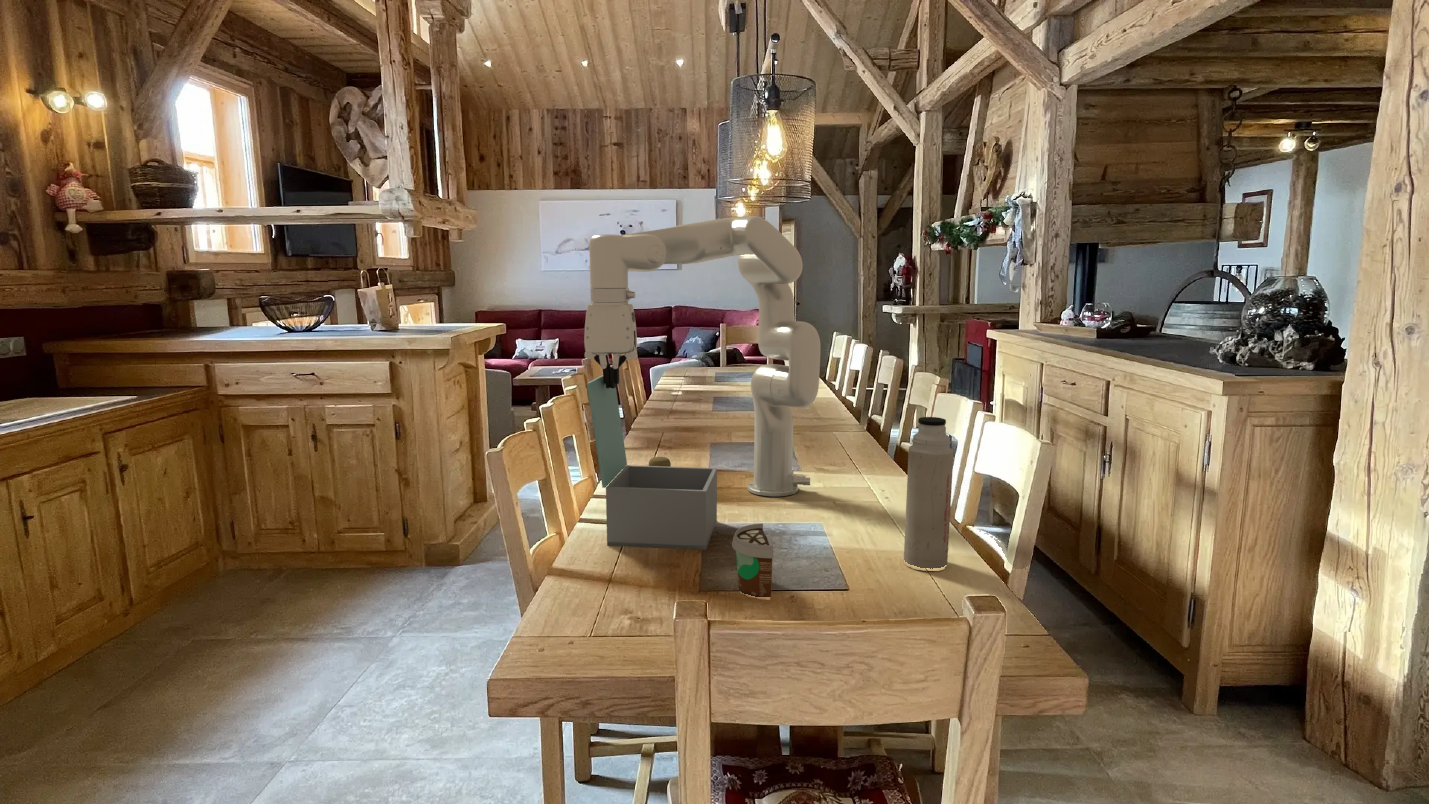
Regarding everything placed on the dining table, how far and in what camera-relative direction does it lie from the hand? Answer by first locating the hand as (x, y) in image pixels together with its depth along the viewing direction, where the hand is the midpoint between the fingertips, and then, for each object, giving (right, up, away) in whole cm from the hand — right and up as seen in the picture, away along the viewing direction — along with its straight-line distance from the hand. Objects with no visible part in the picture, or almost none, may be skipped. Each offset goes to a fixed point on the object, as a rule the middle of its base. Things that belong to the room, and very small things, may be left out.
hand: (611, 387), depth 162 cm
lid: (-1, -8, +2) cm, 8 cm away
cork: (+8, -27, +25) cm, 38 cm away
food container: (+27, -36, -25) cm, 51 cm away
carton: (+11, -31, +4) cm, 33 cm away
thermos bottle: (+61, -34, -13) cm, 71 cm away
